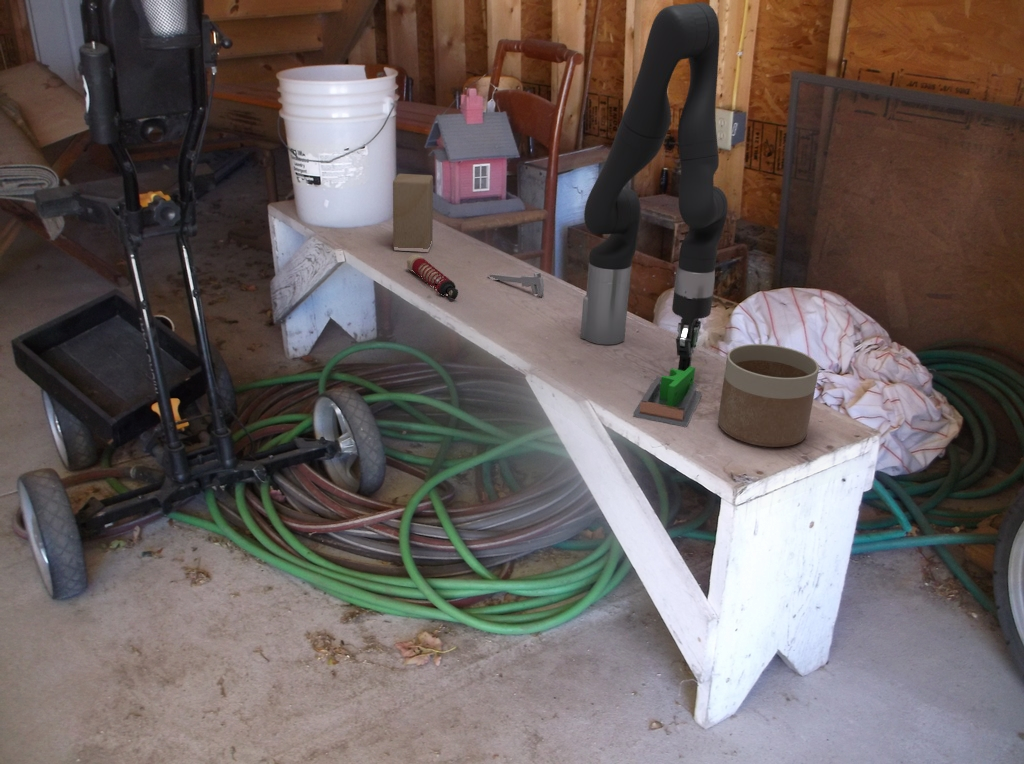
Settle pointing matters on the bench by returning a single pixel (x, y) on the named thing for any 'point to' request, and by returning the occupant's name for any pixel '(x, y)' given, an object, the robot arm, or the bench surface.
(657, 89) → the robot arm
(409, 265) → the shock absorber
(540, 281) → the caliper
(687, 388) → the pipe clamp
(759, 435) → the planter
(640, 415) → the steel channel
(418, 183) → the wooden block
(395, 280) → the bench surface
